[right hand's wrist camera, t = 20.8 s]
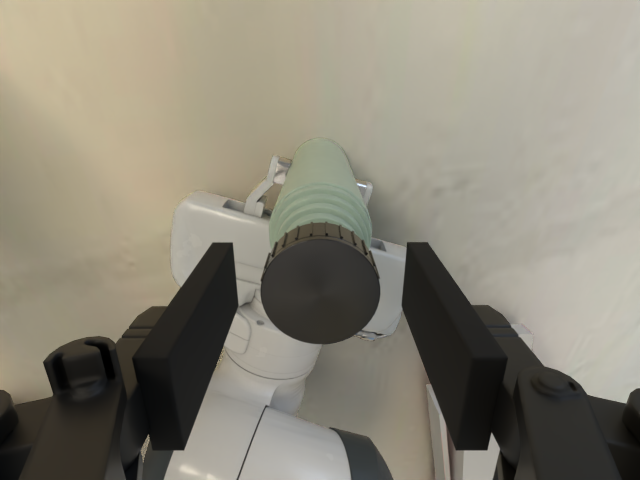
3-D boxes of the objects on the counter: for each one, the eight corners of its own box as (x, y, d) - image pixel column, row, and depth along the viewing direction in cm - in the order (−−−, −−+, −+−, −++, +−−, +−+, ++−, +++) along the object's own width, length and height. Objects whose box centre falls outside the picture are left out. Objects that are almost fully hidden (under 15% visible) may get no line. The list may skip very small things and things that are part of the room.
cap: (246, 245, 14) (236, 265, 13) (351, 202, 14) (356, 218, 12) (292, 332, 16) (289, 360, 14) (390, 297, 15) (398, 322, 14)
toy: (596, 359, 31) (560, 625, 38) (517, 296, 44) (501, 504, 51) (448, 364, 32) (439, 628, 39) (412, 301, 45) (410, 507, 52)
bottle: (322, 204, 36) (325, 365, 15) (281, 168, 35) (221, 289, 14) (359, 164, 35) (420, 280, 14) (317, 125, 34) (314, 187, 12)
